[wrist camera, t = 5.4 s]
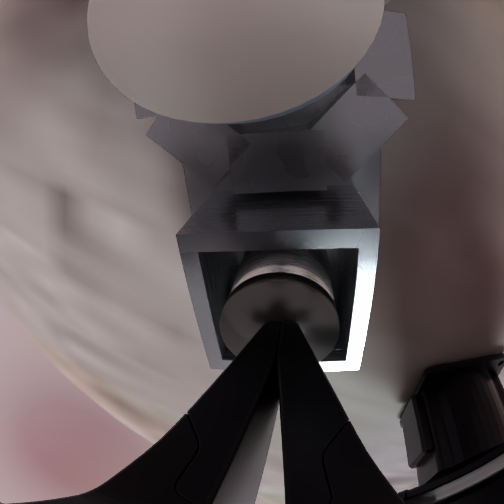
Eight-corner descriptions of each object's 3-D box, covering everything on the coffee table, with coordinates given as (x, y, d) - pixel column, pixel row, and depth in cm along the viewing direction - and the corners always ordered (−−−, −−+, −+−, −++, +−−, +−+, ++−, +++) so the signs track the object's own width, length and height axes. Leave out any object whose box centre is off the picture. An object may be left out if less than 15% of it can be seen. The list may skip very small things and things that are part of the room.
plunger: (327, 213, 10) (344, 281, 7) (326, 287, 12) (334, 371, 8) (240, 217, 11) (209, 283, 7) (249, 288, 12) (229, 369, 8)
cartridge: (320, 9, 7) (353, -116, 1) (331, 110, 9) (404, 123, 3) (210, 19, 8) (88, -66, 2) (221, 117, 9) (98, 151, 3)
